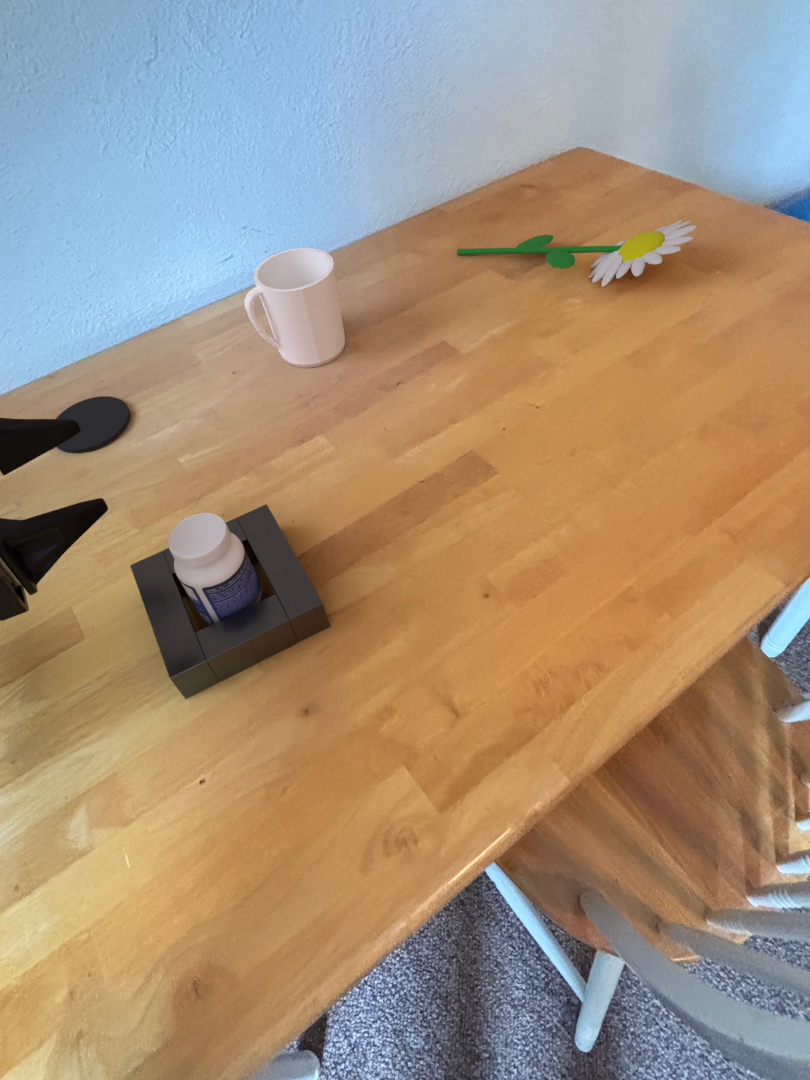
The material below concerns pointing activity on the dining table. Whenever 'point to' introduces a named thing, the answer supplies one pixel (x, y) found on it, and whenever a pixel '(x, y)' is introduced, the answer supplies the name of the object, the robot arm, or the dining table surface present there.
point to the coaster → (95, 423)
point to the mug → (299, 306)
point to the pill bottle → (213, 567)
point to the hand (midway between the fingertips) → (91, 462)
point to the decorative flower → (605, 251)
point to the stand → (243, 634)
